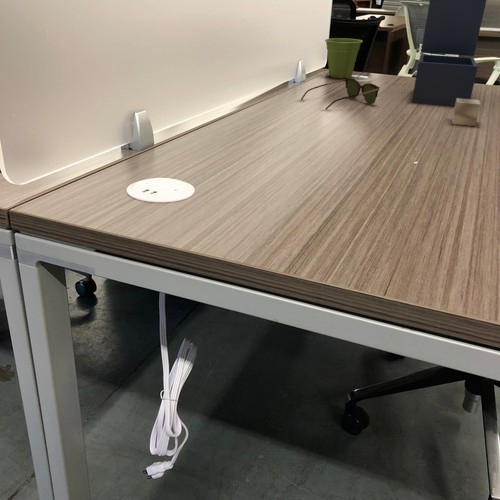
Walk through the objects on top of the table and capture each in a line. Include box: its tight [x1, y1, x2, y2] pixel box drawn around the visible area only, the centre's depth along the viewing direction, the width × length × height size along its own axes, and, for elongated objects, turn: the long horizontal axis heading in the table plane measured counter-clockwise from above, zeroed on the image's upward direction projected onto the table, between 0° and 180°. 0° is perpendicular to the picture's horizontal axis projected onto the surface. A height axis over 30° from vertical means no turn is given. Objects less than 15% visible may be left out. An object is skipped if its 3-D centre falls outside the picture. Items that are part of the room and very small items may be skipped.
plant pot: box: [324, 37, 363, 80], centre depth 162 cm, size 12×12×11 cm
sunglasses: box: [300, 77, 380, 110], centre depth 128 cm, size 14×15×5 cm
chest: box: [411, 53, 479, 107], centre depth 135 cm, size 18×14×10 cm
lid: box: [420, 0, 487, 57], centre depth 137 cm, size 19×14×6 cm
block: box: [451, 98, 481, 127], centre depth 112 cm, size 5×5×5 cm
